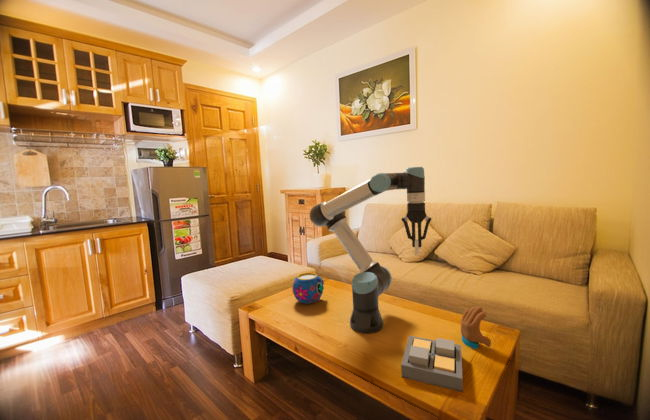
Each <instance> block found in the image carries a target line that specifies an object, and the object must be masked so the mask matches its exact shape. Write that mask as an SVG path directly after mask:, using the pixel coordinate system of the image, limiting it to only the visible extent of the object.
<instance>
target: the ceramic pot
mask: <svg viewBox="0 0 650 420" xmlns="http://www.w3.org/2000/svg"><path fill="white" fill-rule="evenodd" d="M292 282H293V283H292V287H291V289H292V293H293V295H294V298H295V300H297V301H298V302H300V303H301V304H312V303H315V302H317V301H318V300H320V299H321V297H322V295H323V292H324V289H325V288H324V283H325V282H324V278H322V277H321V276H319V275H318V274H317V273H314V272H304V273H300V274H298V275H297V276H296V277H295V279H294V280H293V281H292Z"/></svg>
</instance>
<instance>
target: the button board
mask: <svg viewBox="0 0 650 420" xmlns="http://www.w3.org/2000/svg"><path fill="white" fill-rule="evenodd" d="M414 338H415V339H420V340H426V341H431V353H429V366H428V367H424V366H420V365H415V364H411V363H409V353H410V349H411V345H412V346H413V342H414ZM404 350H405V351H404V352H403V357H402V361H401V364H400V365H401V366H400V367H401V368H400V370H401V378H404V379H408V380H411V381H415V382H420V383H424V384H428V385H432V386H436V387H440V388H444V389H448V390H452V391H456V392H461V393H463V389H464V387H463V383H464V382H463V380H464V379H463V378H464V377H463V363H462V362H463V359H462V355H463V354H462V345H461V344H457V343H454V358H452V359H454V373H451V372H447V371H442V370H438V369H434V363H435V355H437V354H436V339H435V340H434V339H429V338H424V337H417V336H413V335H408V340H407V343H406V346H405V349H404ZM437 356H442V355H437ZM442 357H447V356H442ZM447 358H451V357H447Z"/></svg>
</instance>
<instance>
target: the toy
mask: <svg viewBox="0 0 650 420" xmlns="http://www.w3.org/2000/svg"><path fill="white" fill-rule="evenodd" d="M486 317H487V315H486V313H485V312H483V308H482V307H481V306H477V307H476V306H473V307H471V308H466V309H465V310H464V311H463V315H462V316H461V319H460V334H461V341H462V343H463V344H464V345H465V346H467V347H468V348H471V349H475V350H477V349H479V348H480V347H479V346H480V345H479V344H483V345H485V347H488V348H490V347H491V346H492V345H491V344H492V341H491V339H490V338H489V337H488V336H485V335H483V334H482V332H481V330H480V329H481V328H480V327H481V322H482V320H483V319H485V318H486Z"/></svg>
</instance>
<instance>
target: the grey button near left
mask: <svg viewBox="0 0 650 420" xmlns="http://www.w3.org/2000/svg"><path fill="white" fill-rule="evenodd" d="M409 363H411V364H415V365H420V366H424V367H428V366H429V349H427V348H422V347H417V346H412V345H411V349H410V353H409Z"/></svg>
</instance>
